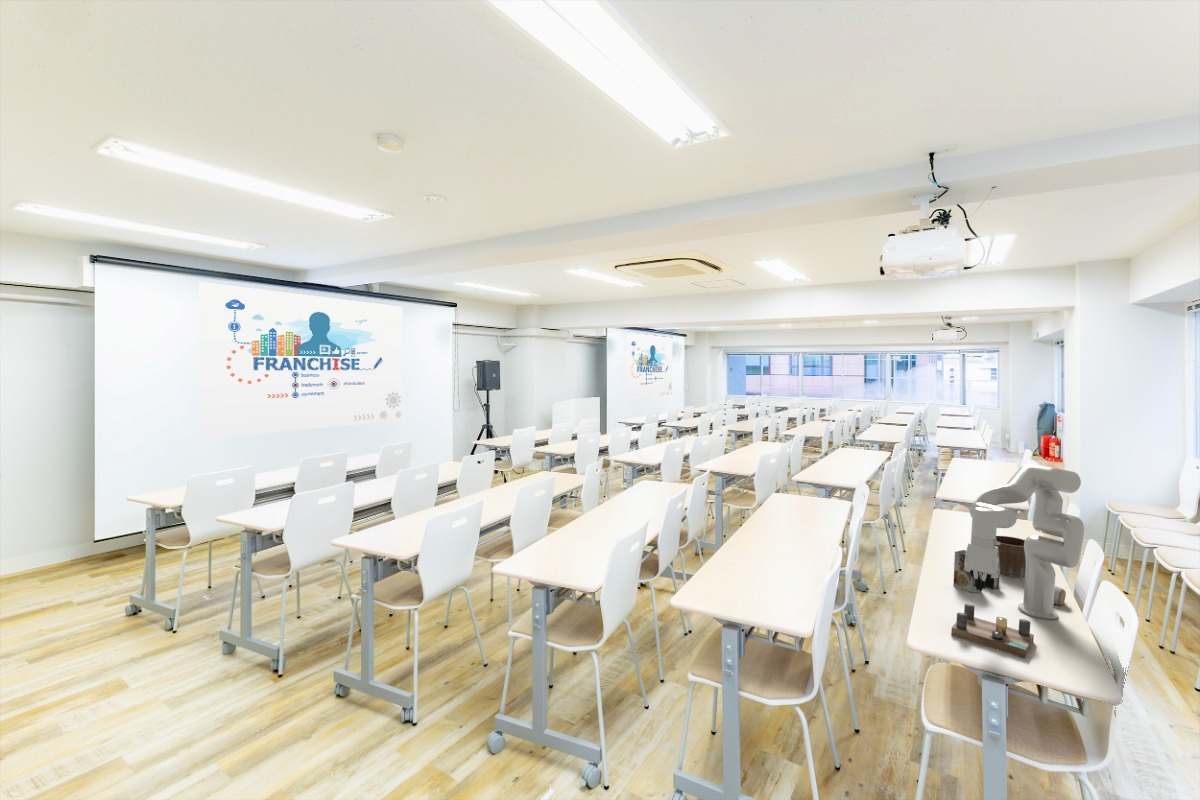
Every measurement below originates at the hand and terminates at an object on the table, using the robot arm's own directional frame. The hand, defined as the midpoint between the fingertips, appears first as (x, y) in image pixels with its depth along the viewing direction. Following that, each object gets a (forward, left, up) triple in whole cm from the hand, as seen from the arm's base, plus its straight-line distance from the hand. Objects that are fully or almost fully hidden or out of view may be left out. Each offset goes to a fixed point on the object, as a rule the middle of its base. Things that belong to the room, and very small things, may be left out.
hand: (979, 589), depth 202 cm
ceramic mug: (-59, +15, -18) cm, 63 cm away
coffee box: (-47, -13, -17) cm, 52 cm away
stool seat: (0, +5, -17) cm, 18 cm away
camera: (-60, -9, -18) cm, 64 cm away
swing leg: (+3, +7, -14) cm, 16 cm away
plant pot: (-84, -4, -17) cm, 86 cm away
